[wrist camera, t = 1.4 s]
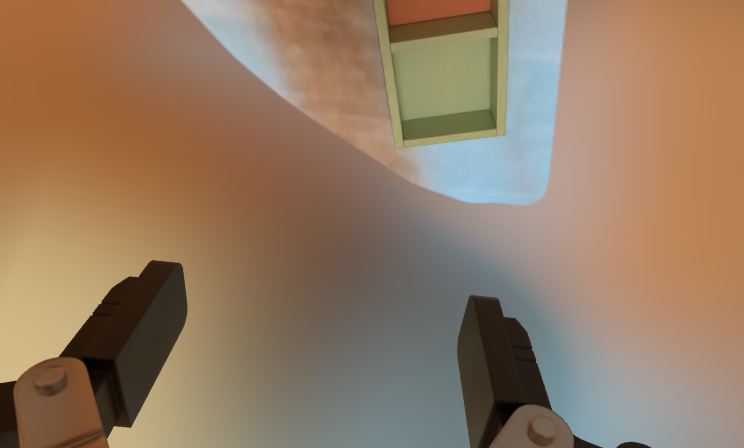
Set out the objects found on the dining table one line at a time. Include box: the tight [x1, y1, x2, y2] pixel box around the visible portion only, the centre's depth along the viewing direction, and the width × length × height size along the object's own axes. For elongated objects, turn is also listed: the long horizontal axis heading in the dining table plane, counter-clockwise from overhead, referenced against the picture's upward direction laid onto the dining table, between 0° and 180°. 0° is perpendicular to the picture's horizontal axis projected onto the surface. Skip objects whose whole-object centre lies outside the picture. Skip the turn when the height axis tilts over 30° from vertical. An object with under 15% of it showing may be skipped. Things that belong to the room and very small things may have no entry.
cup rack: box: [373, 0, 509, 149], centre depth 35 cm, size 9×16×4 cm, turn 9°
